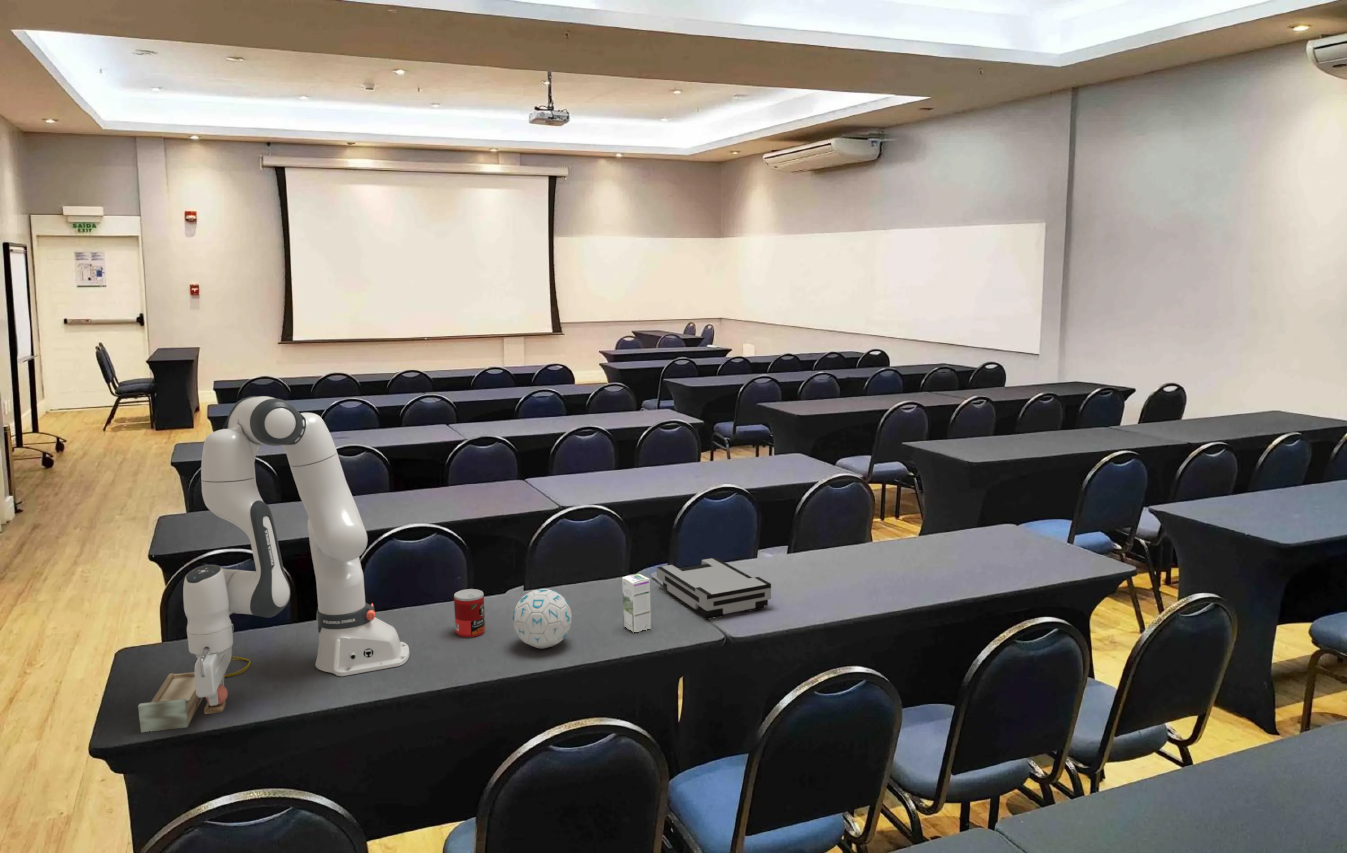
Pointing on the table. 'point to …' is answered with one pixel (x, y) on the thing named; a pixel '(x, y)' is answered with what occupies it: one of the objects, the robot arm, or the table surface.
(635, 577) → the syrup box
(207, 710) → the hollow square frame
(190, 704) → the tray
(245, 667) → the extension cord
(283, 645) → the table surface
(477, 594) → the canned food
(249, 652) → the table surface
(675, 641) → the table surface
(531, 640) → the puzzle ball
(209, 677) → the robot arm
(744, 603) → the game console
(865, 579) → the table surface
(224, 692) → the ball
